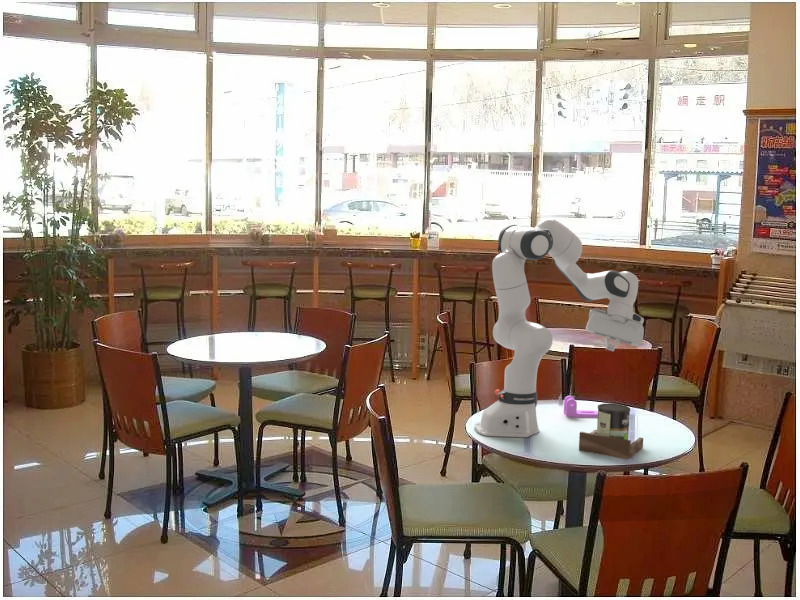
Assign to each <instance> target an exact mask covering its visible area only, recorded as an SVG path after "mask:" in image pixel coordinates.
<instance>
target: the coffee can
mask: <svg viewBox="0 0 800 600" xmlns="http://www.w3.org/2000/svg"><path fill="white" fill-rule="evenodd" d="M597 409H598V410H597V411H598V417H597V424H596V425H597V429H596V430H597V435H603V436H609V437H614V438H620V439H625V440H629V428H630V417H631V416H630V415H631V407H630V406H628V405H625V404H620V403H602V404H598V405H597Z"/></svg>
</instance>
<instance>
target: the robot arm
mask: <svg viewBox="0 0 800 600" xmlns="http://www.w3.org/2000/svg"><path fill="white" fill-rule="evenodd" d="M497 246H498V247H497V252H498V254H497V255H496V256H495V257H494V258H493V260H492V262H491V263H492V264H491V265H492V267H491V269H492V271H491V272H492V278H493V279H492V280H493V285H494V289H495V290H494V291H495V294H496V295H495V296H496V299H497V306H498V317H497V321H496V322H495V324H494V325H493V329H492V336H493V339H494V341H495V342H496V343H497V344H499V345H500V346H501V347H503V348H505V349H509V350H512V351H514V354H513V357H512V360H511V362H510V363H509V364H507V365H506V367H504V381H503V382H504V384H503V386H504V388H503V389H502V390H500V389H495V391H494V394H495V395H496V396H497V399H498V400H496V401H495V402H494V403H492V404H491V405H490V406H488V407H487V408H485V409H484V410H483V412H482V415H481V419H480V422H476V423H475V424H474V430H475V432H477V433H478V434H479V435H481V436H485V437H509V438H529V437H530V436H532V435H535V434H538V433H539V432H540V428H539V424H538V419H537V408H536V407H537V405H538V392H537V377H538V370H539V369H538V368H539V367H540V366H539V365H540V362H541V361H542V358H543V356H544V355H545V354H547V353H548V352H549V351H550V349H551V347H552V345H553V342H554V341H553V334H552V333H551V331H550V330H549V329H548V328H547V327H545V326H543V325H542V324H540V323H536V322H532V321H528V320H527V318H526V311H527V308H529V306H530V304H531V301H532V300H531V299H532V298H531V294H530V291H529V285H528V280H527V277H526V273H525V263H526V260H529V261H538V260H541V259H543V258H544V257H546V256H547V254H548V256H550V257H551V258H552V259H553V262H554V265H555V267H556V268H557V270H558V271H560V272H561V274H562V275H563V276H564V277H565V279H566V280H568V282H569V283H570V284H571V285H572V287H573V288H574V289H575V290H576V293H577V294H578V296H579V297H580V298H581V299H582V300H583V301H585V302H594V301H597V300H602V299H607V300H609V303H608V305H607V308H606V309H607V310H604V309H600V308H597V307H594V308H591V309H590V310H589V312H588V321H587V323H586V326H585V330H586V332H588V333H591V334H594V335H596V336H601V337H604V343H605V345H606V346H605V350H606V351H607V350H608V351H611V352H614V351H615V349H616V347H617V346H618V345H619V344H620V343H624V344H627V345H630V346H633V347H640V346H641V345H642V343H643V340H644V335H645V334H644V333H645V328H644V325H643V324H644V321H645V319H644V317H642V316H640V315H639V314H637V313H636V312H635V311H634V304H635V302H636V300H637V296H638V293H639V292H638V291H639V279H638V277H637V275H635V274H634V273H632V272H631V271H626V270H624V271H620V272H619V271H617V270H613V269H612V270H606V271H601V272H594V273H589V272H587V273H586V272H584V271H583V269H582V268H580V266H578V264H577V262H578V261H579V259H580V257H581V256H582V253H583V242H582V241H581V239H580V238H579V237H578V235H576V234H575V232H573V231H572V230H570V229H569V228H568V227H567V226H565V225H564V224H563V223H561V222H560V221H557V220H556V219H555V218H551V217H547V218H544V219H541V220H540V221H539V222H537V224H536V225H535V226H534V227H531V226H529V225H528V226H527V225H518V224H511V225H507V226H505V227H503V229H501V231H500V233H499V235H498V239H497ZM610 339H611V340H613V341H614V344H611V343H610Z"/></svg>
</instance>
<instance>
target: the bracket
mask: <svg viewBox="0 0 800 600" xmlns="http://www.w3.org/2000/svg"><path fill="white" fill-rule="evenodd" d="M577 403H578V402H577V401H576V400H575V398H574V397H573V396H572V395H567V396H565V397H564V399H563V414H564V416H565V415H566V416H572V417H571V418H593V417H595V418H598V410H597V411H596V410H589V409H585V410H583V409H577V407H578V405H577ZM566 416H565V417H566Z"/></svg>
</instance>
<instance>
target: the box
mask: <svg viewBox="0 0 800 600" xmlns="http://www.w3.org/2000/svg"><path fill="white" fill-rule="evenodd" d="M578 438H579V440H578V441H579V442H578V451H580V452H585V453H591V454H594V455H595V454H597V455H602V456H605V457H606V456H607V457H611V458H617V459H622V460H627V461H629V460H630V459H631V458H633V457H634V456H635V455H636V454H637V453H639V452H640V451H641V450H642V448H643V449H644V437H637V439H636V440H634V441H633V442H632V441H631V440H629V439H628V440H625V439H620V438H614V437H609V436H603V435H597V429H594V430H592V431H591V432H586V431H580V432H579V437H578ZM631 442H632V443H631Z"/></svg>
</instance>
